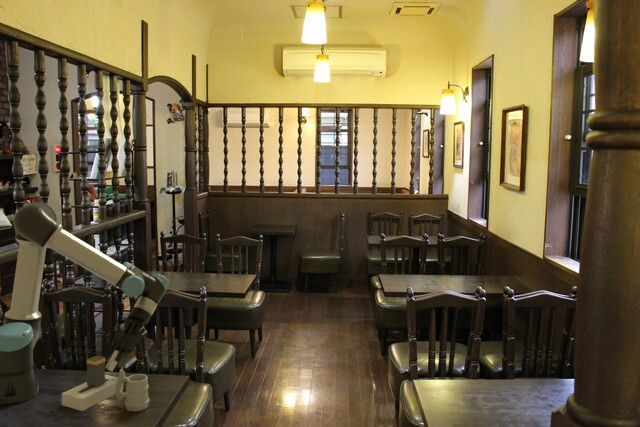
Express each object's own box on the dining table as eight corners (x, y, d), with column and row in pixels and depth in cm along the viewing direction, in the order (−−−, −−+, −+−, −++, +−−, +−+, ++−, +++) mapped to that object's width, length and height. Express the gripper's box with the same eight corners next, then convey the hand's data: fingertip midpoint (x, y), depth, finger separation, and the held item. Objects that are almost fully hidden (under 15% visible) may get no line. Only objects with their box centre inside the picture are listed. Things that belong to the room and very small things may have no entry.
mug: (141, 413, 168) (142, 377, 167) (108, 408, 170) (108, 373, 169) (153, 403, 175) (154, 368, 174) (121, 398, 177) (122, 364, 176)
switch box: (61, 405, 171) (61, 392, 171) (103, 384, 187) (103, 373, 187) (82, 411, 168) (82, 398, 167) (123, 389, 184) (123, 378, 184)
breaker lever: (86, 385, 177) (86, 359, 176) (96, 380, 181) (96, 355, 180) (95, 387, 175) (96, 361, 175) (105, 383, 179) (105, 357, 178)
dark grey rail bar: (104, 383, 189) (104, 379, 189) (106, 381, 190) (106, 378, 190) (130, 389, 184) (130, 386, 184) (132, 388, 186) (132, 385, 185)
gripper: (160, 319, 197) (128, 377, 183) (133, 314, 202) (100, 370, 188) (151, 308, 192) (117, 367, 178) (123, 303, 197) (88, 361, 183)
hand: (108, 369), depth 183 cm, fingers closed
